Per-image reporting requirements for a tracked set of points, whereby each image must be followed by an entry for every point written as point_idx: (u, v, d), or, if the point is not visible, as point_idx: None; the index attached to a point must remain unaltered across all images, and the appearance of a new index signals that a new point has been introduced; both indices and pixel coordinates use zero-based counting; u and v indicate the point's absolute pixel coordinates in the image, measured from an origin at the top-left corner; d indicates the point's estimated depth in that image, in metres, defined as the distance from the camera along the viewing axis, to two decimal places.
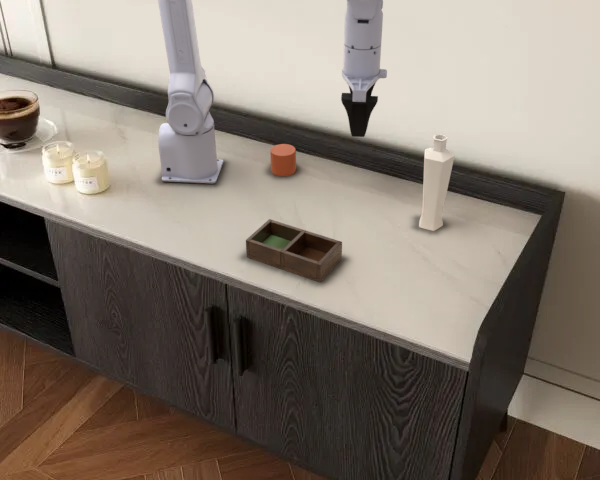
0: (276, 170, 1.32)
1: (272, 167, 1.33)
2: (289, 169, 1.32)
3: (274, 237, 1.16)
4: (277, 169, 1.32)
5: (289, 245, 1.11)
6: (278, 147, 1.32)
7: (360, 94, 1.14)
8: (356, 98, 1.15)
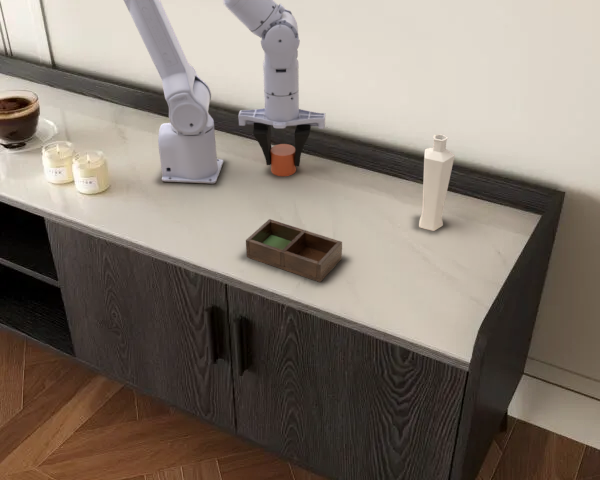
0: (276, 170, 1.32)
1: (272, 167, 1.33)
2: (289, 169, 1.32)
3: (274, 237, 1.16)
4: (277, 169, 1.32)
5: (289, 245, 1.11)
6: (278, 147, 1.32)
7: None
8: None
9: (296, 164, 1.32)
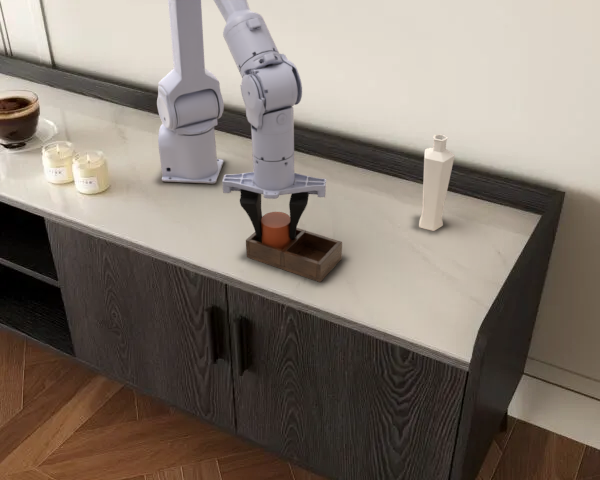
0: (268, 243, 1.12)
1: (263, 240, 1.12)
2: (283, 243, 1.11)
3: None
4: (269, 242, 1.11)
5: (289, 245, 1.11)
6: (270, 216, 1.12)
7: None
8: None
9: (291, 236, 1.11)
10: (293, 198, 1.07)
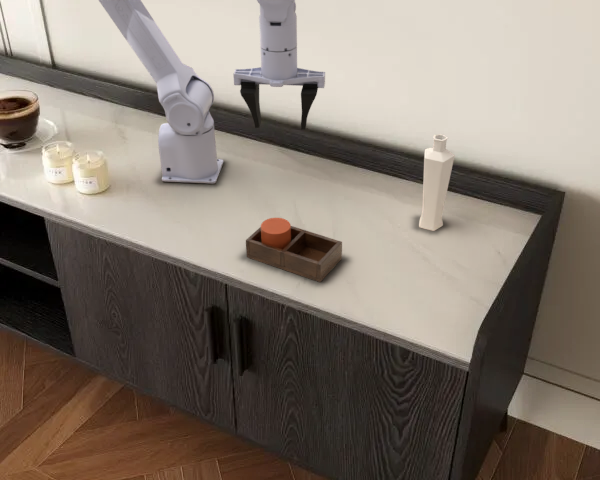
0: None
1: None
2: (283, 248, 1.12)
3: None
4: None
5: (289, 245, 1.11)
6: (270, 222, 1.12)
7: None
8: None
9: (302, 127, 1.25)
10: (304, 89, 1.21)
